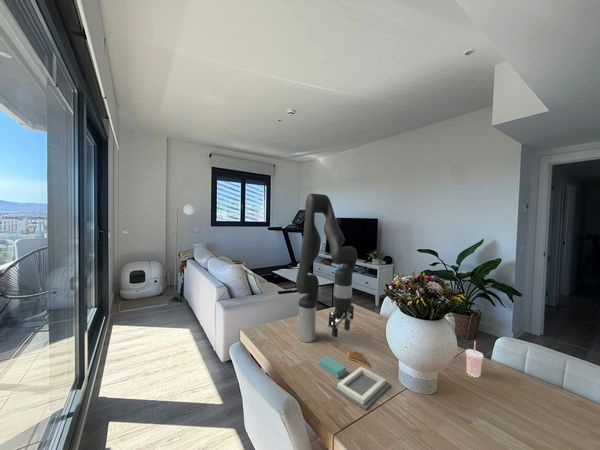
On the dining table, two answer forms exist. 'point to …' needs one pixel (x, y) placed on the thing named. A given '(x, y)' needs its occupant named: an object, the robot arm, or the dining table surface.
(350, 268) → the robot arm
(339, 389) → the mat
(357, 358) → the shard
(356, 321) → the dining table surface
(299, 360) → the dining table surface
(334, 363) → the teal block
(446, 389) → the dining table surface
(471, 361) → the beverage cup
